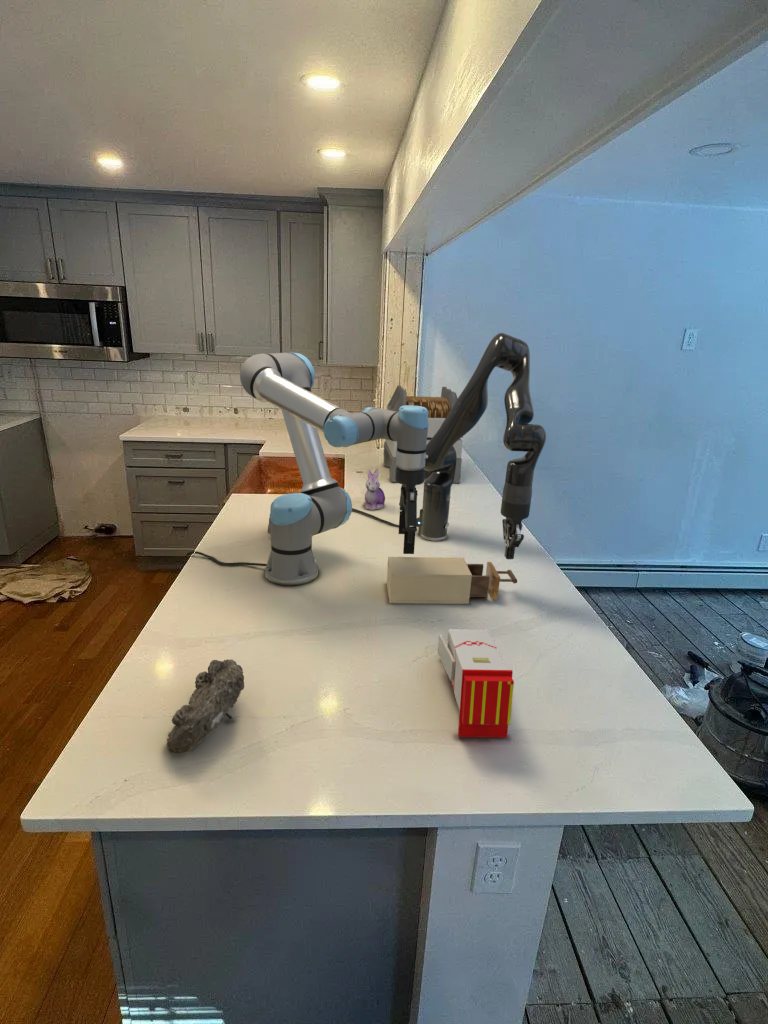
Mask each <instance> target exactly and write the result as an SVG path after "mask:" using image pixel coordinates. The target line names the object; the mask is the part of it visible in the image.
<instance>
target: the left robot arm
mask: <svg viewBox="0 0 768 1024" xmlns="http://www.w3.org/2000/svg"><path fill="white" fill-rule="evenodd" d="M239 380H240V384H241V386H242V389H244V391H245V392H246V393H247V394H248V395H249V396H251V397H252V398H253V399H256V400H257V401H259V402H261V403H270V404H272V405H274V406H275V407H276V408H278V409H281V413H282V416H283V420H284V423H285V427H286V429H287V433H288V437H289V440H290V443H291V447H292V450H293V454H294V458H295V460H296V464H297V467H298V471H299V475H300V478H301V481H302V487H301V489H300V492H293V493H286V494H282V495H279V496H277V497H276V498H275V499H274V500H273V501H271V504H270V508H269V510H270V512H269V518H270V526H271V534H270V553H269V555H268V559H267V562H266V563H261V562H245V561H242V562H241V561H238V562H237V561H236V562H225V561H221V560H218V559H217V558H216V557H214V556H211V555H209V554H206V553H204V552H201V551H197V550H191V551H189V552H187V553H186V554H185V556H187V557H188V556H190V555H194V554H196V555H200V556H202V557H205V558H208V559H210V560H212V561H214V562H215V563H216V564H219V565H221V566H222V565H223V566H256V567H265V568H264V570H265V571H264V573H265V575H264V576H265V578H266V579H267V580H268V581H269V582H272V583H273V584H277V585H281V586H300V585H304V584H308V583H310V582H312V581H314V580H315V579H316V578H317V577H318V576H319V566H318V563H317V558H316V556H315V554H314V552H313V537H314V536H316V535H319V534H322V533H325V532H327V531H330V530H334V529H337V528H339V527H340V526H343V525H344V524H346V523H347V522H348V521H349V519H350V517H351V515H352V508H353V503H352V499H351V496H350V494H349V493H348V492H347V491H346V489H344V488H342V487H340V486H339V482H338V480H336V479H335V478H333V477H332V476H331V473H330V469H329V466H328V462H327V458H326V455H325V452H324V448H323V444H322V441H321V438H320V434H319V431H320V432H321V433H323V436H324V439H325V440H326V441H327V443H328V444H329V445H330V446H331V447H333V448H349V447H351V446H355V445H358V444H363V443H368V442H373V441H377V440H385V439H387V440H391V441H397V452H396V465H397V468H396V475H395V480H396V481H397V482H396V483H398V484H401V487H400V495H399V502H398V506H399V515H398V516H399V517H398V518H399V519H398V525H399V527H398V535H403V548H402V553H403V555H414V554H415V546H416V545H415V544H416V543H415V542H416V533H417V532H418V527H417V518H418V495H419V494H418V489H417V487H416V486H418V485H419V486H420V485H422V484H424V482H425V478H426V477H425V475H426V470H425V469H424V468H423V467H425V459H427V458H428V455H426V443H427V433H428V426H429V424H428V410H427V409H426V408H425V407H422V406H414V405H405V406H401V407H400V408H399V412H395V411H390V410H387V409H386V408H385V409H384V408H380V407H371V406H368V407H365V408H363V410H362V411H360V412H355V413H353V412H350V411H347V410H345V409H344V408H341V407H339V406H338V405H336V404H334V403H332V402H330V401H328V400H326V399H324V398H322V397H321V396H318V395H316V394H315V393H313V392H312V388H313V387H314V385H315V380H316V373H315V369H314V366H313V363H311V361H310V360H309V358H307V356H305V355H303V354H302V353H298V352H292V351H285V352H277V353H276V352H274V353H273V352H272V353H256V354H253V355H251V356H249V357H248V358H247V359H246V360H245V361H244V362H243V364H242V365H241V368H240V371H239ZM195 551H196V552H195ZM194 552H195V553H194Z"/></svg>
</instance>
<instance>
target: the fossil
mask: <svg viewBox="0 0 768 1024" xmlns="http://www.w3.org/2000/svg"><path fill="white" fill-rule="evenodd" d="M243 670H244V669H243V667H242V665H240V664H237V662H236V661H235V660H234V659H232V658H231V659H227V658H226V659H224V660H223V661H222V660H217V659H212V660H211V661H210V663H209V665H208V666H207V671H201V672H199V673H198V674H197V675H196V676H195V680H194V684H195V685H194V687H195V689H194V690H193V693H192V694H191V697H190V698H189V700H188V704H184V705H182V706H181V707H180V709H177V710H176V711H175V713H174V715H173V716H172V718H171V723H172V724H173V727H172V730H171V731H170V732H168V734H167V738H166V741H167V742H166V745H167V749H168V750H169V751H173V752H174V753H176V754H178V753H182V752H188V751H189V752H192V751H193V750H195V748H196V747H197V746H199V744H200V743H201V742H203V741H204V740H205V739H206V738H207V737H208V736H209V735H210V734H211V733H212V732H214V730H215V729H217V727H218V726H219V724H220V722H221V721H222V720H223V719H224V718H225V716H226V717H227V719H229V720H233V717H232V715H230V714H229V710H230V709H231V708H234V706H235V704H236V703H237V702H238V699H239V697H240V695H241V693H242V691H243V690H245V689H244V688H245V675H244V671H243Z"/></svg>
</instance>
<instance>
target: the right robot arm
mask: <svg viewBox="0 0 768 1024" xmlns="http://www.w3.org/2000/svg"><path fill="white" fill-rule="evenodd" d="M530 352H531V351H530V347H529V345H528V343H527V342H526V341H524V340H522V339H520V338H517V337H515V336H512V335H510V334H508V333H504V332H498V333H496V334H495V335H494V336H493V337H492V338H491V340H490V341H489V343H488V344H487V346H486V348H485V350H484V352H483V354H482V356H481V358H480V360H479V362H478V364H477V366H476V368H475V369H474V371H473V374H472V375H471V376H470V378H469V380H468V382H467V384H466V385H465V387H464V388H463V389H462V392H461V393H460V394H459V396H457V398H458V399H457V401H456V402H455V404H454V405H453V407H452V409H451V411H450V412H449V414H448V416H447V417H446V419H445V420H444V422H443V423H442V425H441V427H440V428H439V430H438V431H437V433H436V434H435V435H434V436H433V438H432V439H431V440H430V441H429V443H428V444H427V445H426V455H428V458H427V459H425V467H423V468H424V469H425V472H428V473H431V474H430V475H429V476H428V477H427V478H426V479H424V482H423V493H422V496H423V497H422V506H421V508H420V509H419V516H417V535H418V536H420V538H421V539H424V540H426V541H432V542H440V541H444V540H446V539H447V538H448V527H450V522H449V517H450V516H449V514H450V504H451V494H452V493H451V491H452V486H453V484H454V483H453V482H454V477H455V470H456V462H457V455H456V450H455V448H454V447H453V445H454V444H455V443H456V442H457V441H458V440H459V439H462V438H461V437H463V438H464V436H465V435H467V434H468V433H469V432H470V431H472V429H473V428H474V427H476V426H477V424H478V422H479V421H480V419H481V418H482V417H483V415H484V414H485V412H486V410H487V408H488V404H489V393H488V392H489V390H488V383H489V379H490V376H491V375H492V372H493V370H494V369H495V368H498V369H501V370H504V371H506V372H510V374H511V375H512V378H513V379H512V381H511V383H510V384H509V385H508V387H507V389H506V391H505V393H504V399H503V400H504V401H503V402H504V408H505V415H506V421H505V422H506V423H505V429H504V432H503V439H502V441H503V445H504V447H505V448H506V449H507V450H508V451H510V452H523V453H525V454H524V456H521V457H518V458H512V459H510V460H509V461H508V462H507V465H506V471H505V479H504V485H503V489H502V496H501V504H500V514H501V516H503V517H504V518H502V521H501V522H502V523H501V524H502V535H503V540H504V545H505V549H504V558H505V559H506V560H513V559H515V552H516V548H520V546H521V543H522V542H523V540H524V538H525V534H524V533H521V532H522V531H523V523H522V522H523V521H524V520H526V519H527V518H529V516H530V511H531V505H532V504H531V503H532V497H533V482H534V474H535V469H536V466H537V463H538V460H539V458H540V456H541V454H542V452H543V449H544V447H545V444H546V442H547V441H546V440H547V432H546V429H545V427H544V426H543V425H540V424H535V423H534V424H533V423H531V422H532V421H533V420H534V417H535V413H534V406H533V401H532V395H531V389H530V377H531V376H530V375H531V374H530V373H531V354H530ZM352 511H353V512H355V513H358V514H362V515H365V516H367V517H370V518H372V519H375V520H377V521H379V522H382V523H384V524H387V525H390V526H392V527H396V528H399V524H395V523H394V522H391V521H389V520H388V521H387V520H385V519H382V518H380V517H378V516H376V515H373V514H370V513H368V512H365V511H363V510H359V509H357V508H353V507H352Z"/></svg>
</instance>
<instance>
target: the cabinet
mask: <svg viewBox="0 0 768 1024" xmlns="http://www.w3.org/2000/svg"><path fill="white" fill-rule="evenodd" d="M467 564H468V563H467V562H466V559H465V558H464V557H447V556H446V557H442V556H441V557H438V556H435V557H434V556H433V557H432V556H388V557H387V569H386V570H387V572H386V589H387V595H388V602H389V604H424V605H425V604H433V605H434V604H435V605H436V604H437V605H438V604H441V605H443V604H444V605H445V604H447V605H452V604H453V605H455V604H457V605H468V604H470V598H471V597H470V587H471V578H472V574H471V572H470V570H469V568H468V566H467Z"/></svg>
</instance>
